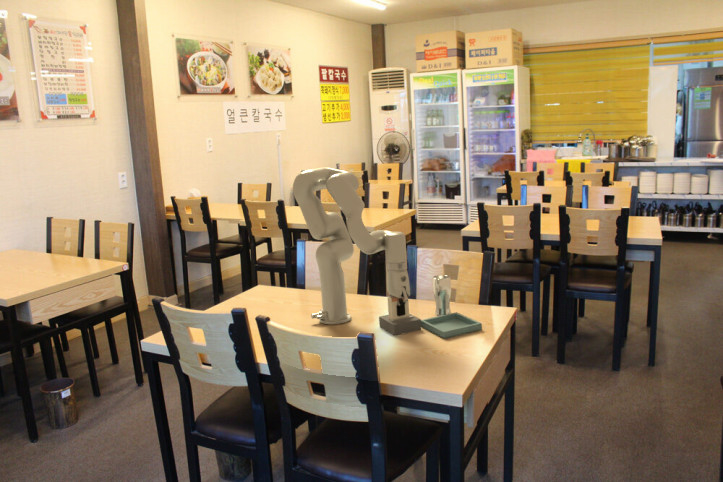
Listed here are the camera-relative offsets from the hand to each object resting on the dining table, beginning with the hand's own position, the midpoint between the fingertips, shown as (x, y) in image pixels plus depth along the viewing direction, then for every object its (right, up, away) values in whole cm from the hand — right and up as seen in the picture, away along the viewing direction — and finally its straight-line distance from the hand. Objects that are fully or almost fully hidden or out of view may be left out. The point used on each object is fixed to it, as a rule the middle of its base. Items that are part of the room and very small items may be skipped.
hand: (398, 313), depth 225 cm
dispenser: (+1, -5, +1) cm, 6 cm away
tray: (+19, -5, -3) cm, 20 cm away
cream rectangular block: (0, -3, +1) cm, 3 cm away
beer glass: (+18, -2, +14) cm, 23 cm away
